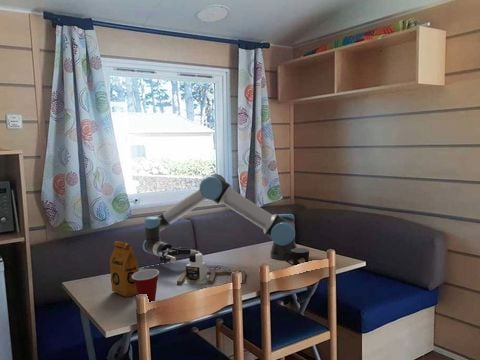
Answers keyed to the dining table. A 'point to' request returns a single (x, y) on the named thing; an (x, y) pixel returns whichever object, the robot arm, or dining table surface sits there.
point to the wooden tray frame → (211, 278)
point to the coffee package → (123, 269)
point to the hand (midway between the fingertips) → (187, 257)
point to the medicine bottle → (196, 268)
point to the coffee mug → (298, 255)
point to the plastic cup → (146, 282)
